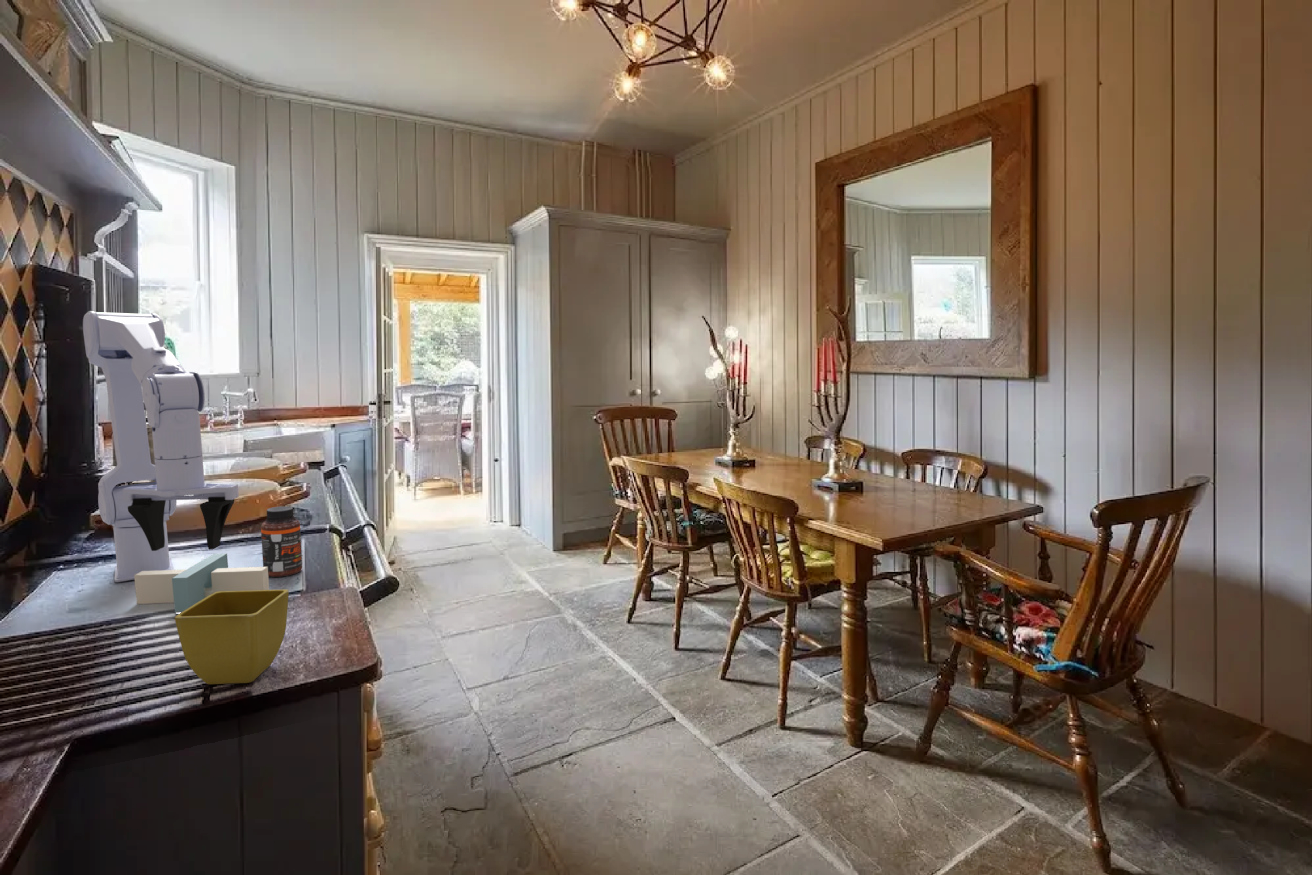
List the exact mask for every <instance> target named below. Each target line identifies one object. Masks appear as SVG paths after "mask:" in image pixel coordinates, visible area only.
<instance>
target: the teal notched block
mask: <svg viewBox="0 0 1312 875" xmlns="http://www.w3.org/2000/svg"><path fill="white" fill-rule="evenodd" d="M228 559H229V558H228V553H213V554H211V555H210V556H207V557H206V558H204V559H203V560H201V561H199V562H197V563H196V564H194V565H191V566H190V567H189V568H187V570H186V569H184V570H185V571H183V572H182V573H180V574H178V575H176V576H175V577H173V578H172V585H173V596H174V603H173V607H174V613H175V612H183V611H185V610H186V609H188V608H189V607H191V606H193V605H194V604H196V603H197V602H199V601H201V600H202V599H204V598H205V595H204V588H208V587H212V579H211V572H213V571H214V570H216V569H217V568H229V561H228Z"/></svg>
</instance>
